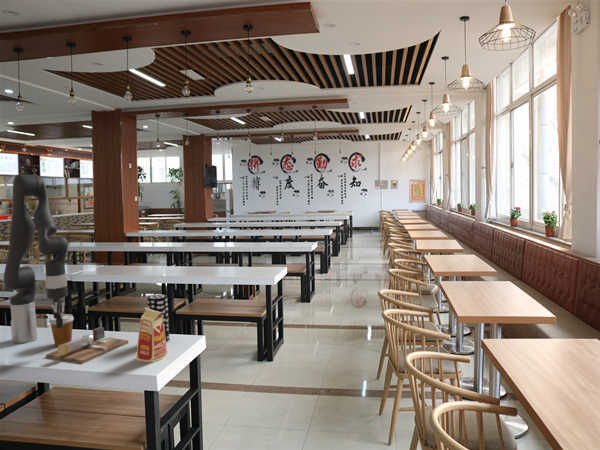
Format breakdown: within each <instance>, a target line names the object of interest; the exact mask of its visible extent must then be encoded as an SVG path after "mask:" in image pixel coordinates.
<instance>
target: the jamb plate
mask: <svg viewBox="0 0 600 450" xmlns="http://www.w3.org/2000/svg"><path fill="white" fill-rule="evenodd" d="M92 335H93V341H94V344H92V345H88V346H82V347H80V348H77V349H75V350H73V351H70V352H69V353H67V354H65V355H63V354H59V350H58V349H55V350H53V351H51V352H48V353H46V354H45V357H46V358H48V359H55V360H62V361H67V362H74V363H79V364H84V363H87V362H90V361H91V360H93V359H95V358H98V357H100V356H102V355H105V354H107V353H109V352H111V351H114V350H116V349H118V348H120V347H122V346H125V345H126V344H129V340H128V339H122V338H121V339H120V338H115V337H111V336H105V327H102V326H100V327H96V328H94V329H92Z"/></svg>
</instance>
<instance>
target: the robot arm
mask: <svg viewBox="0 0 600 450" xmlns="http://www.w3.org/2000/svg"><path fill="white" fill-rule="evenodd" d="M12 183H13V184H12V215H11V220H10V221H11V222H10V232H9V243H8V253H7V258H6V263H5V268H4V273H3V284H4V286H5V288H7V289H8V290H11V291H13V290H17V289H19V290H18V292H17V293H16V294H14V295H13V296H11V298H10V299H9V302H10V314H11V320H10V330H11V341H12V342H13V343H15V344H26V343H30V342H33V341H36V340H37V339H38V328H37V317H36V316H37V314H36V305H35V303H36V302H35V297H36V294H37V293H36V274H35V271H34V269H33V268H32V267H31V266H27V265H26V266H21V264H22V261H23V258H24V257H25V255H26V254H27V252H28V251H29V249H30V248H31V247H32V245H33V244H34V241H35V237H36V232H37V237H38V245H37V247H38V251H39V253H40V254H41V255H43V256H51V255H56V256H55V258H53V259H50V260H48V261H46V262H45V263H44V268H45V289H46V290H45V291H46V299H48V300H52V302H51V312H52V315H53V316H52V317H54V319H56V325H57V328H62V327H63V315H64V314H65V300H63V298H66V297H68V296H69V295H68V294H69V292H68V280H67V275H66V264H65V263H66V260H67V259H66V257H67V253H68V249H69V242H68V240H67V238H66V237H65V236H54V235H55V234H56V233H57V232H58V228H57V225H56V222H55V220H54V217H53V215H52V211H51V207H50V202H49V195H48V189H47V185H46V183H45V180H44V178H43V176H41V175H38V174H36V175H35V174H19V173H18V174H16V175H15V176H14V178H13V182H12ZM26 197H33V198H34V197H36V198H37V200H38V201H37V202H38V204H37V207H36V208H35V211H34V213H33V218H32V216H31V215H30V213H29V212H28V210H27V208H26V206H25V205H26V204H25V198H26Z"/></svg>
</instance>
